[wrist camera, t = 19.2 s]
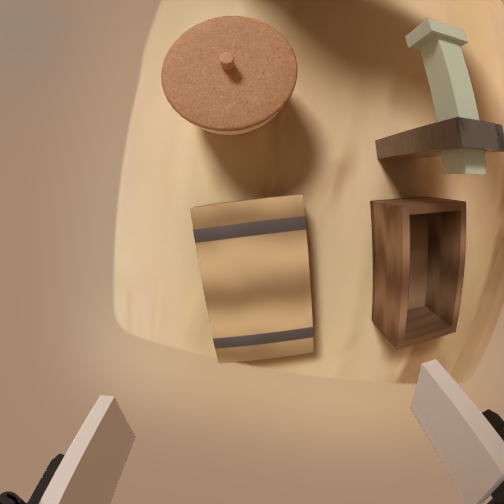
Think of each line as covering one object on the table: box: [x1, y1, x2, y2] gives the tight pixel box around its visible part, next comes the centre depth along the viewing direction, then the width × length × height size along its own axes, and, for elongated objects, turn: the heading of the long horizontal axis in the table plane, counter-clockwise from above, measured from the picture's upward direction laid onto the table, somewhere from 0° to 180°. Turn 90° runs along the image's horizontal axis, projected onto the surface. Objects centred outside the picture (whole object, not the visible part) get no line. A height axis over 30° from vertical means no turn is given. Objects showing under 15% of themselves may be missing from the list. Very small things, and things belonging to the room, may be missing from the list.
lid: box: [190, 194, 314, 363], centre depth 29 cm, size 16×10×4 cm, turn 7°
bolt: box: [405, 18, 486, 174], centre depth 16 cm, size 12×4×4 cm, turn 7°
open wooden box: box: [370, 197, 466, 349], centre depth 27 cm, size 14×8×7 cm, turn 7°
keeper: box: [375, 117, 504, 159], centre depth 21 cm, size 2×5×14 cm, turn 97°
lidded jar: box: [162, 16, 297, 135], centre depth 22 cm, size 11×11×9 cm
